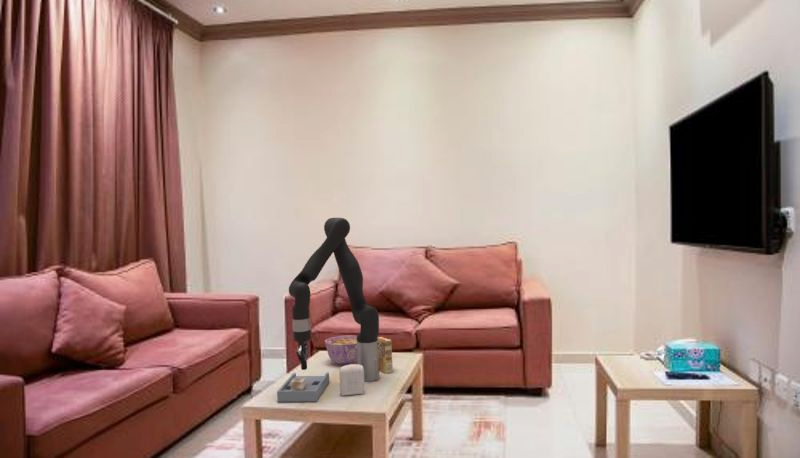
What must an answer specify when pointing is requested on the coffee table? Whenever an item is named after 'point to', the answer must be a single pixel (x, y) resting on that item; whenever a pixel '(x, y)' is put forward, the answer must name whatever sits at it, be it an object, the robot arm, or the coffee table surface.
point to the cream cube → (298, 384)
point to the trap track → (311, 394)
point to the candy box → (385, 354)
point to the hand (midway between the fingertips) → (304, 369)
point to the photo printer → (351, 380)
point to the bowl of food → (342, 349)
